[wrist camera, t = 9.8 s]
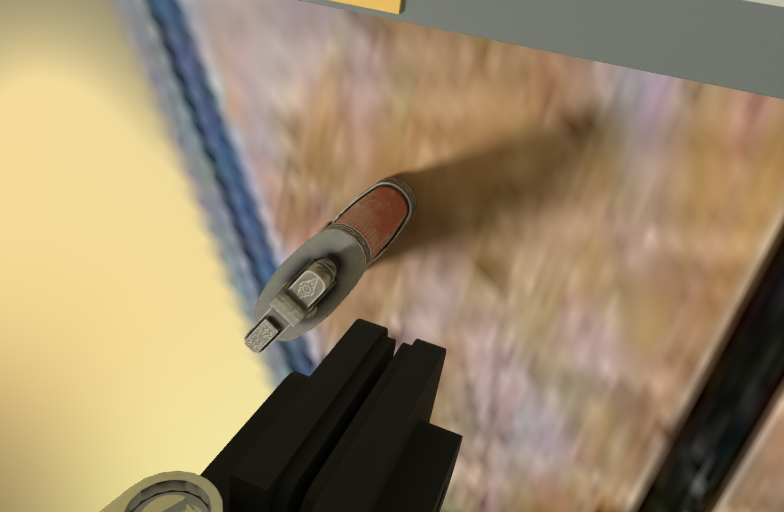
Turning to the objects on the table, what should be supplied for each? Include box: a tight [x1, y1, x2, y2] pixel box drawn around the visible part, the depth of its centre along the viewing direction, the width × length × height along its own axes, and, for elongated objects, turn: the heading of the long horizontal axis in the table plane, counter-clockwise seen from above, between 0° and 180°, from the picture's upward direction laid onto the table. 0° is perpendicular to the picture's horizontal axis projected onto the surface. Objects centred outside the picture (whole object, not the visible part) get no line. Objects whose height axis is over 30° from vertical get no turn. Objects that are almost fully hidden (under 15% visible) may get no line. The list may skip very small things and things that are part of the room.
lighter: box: [244, 178, 416, 354], centre depth 31 cm, size 8×3×10 cm, turn 140°
